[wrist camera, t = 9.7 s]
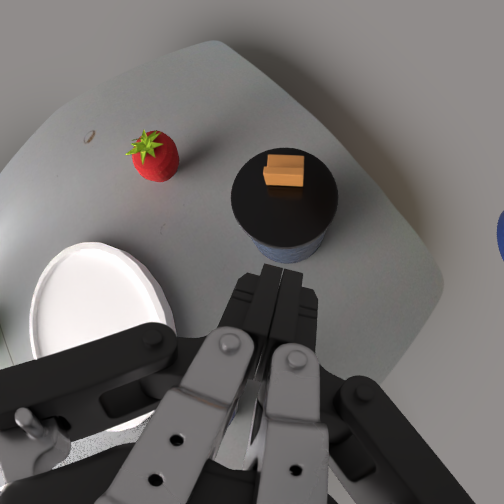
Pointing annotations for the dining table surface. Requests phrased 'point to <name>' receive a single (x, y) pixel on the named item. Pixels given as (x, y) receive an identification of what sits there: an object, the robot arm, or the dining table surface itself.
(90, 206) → the dining table surface
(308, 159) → the travel cup
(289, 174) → the orange l-shaped block
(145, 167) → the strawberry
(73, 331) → the plate
